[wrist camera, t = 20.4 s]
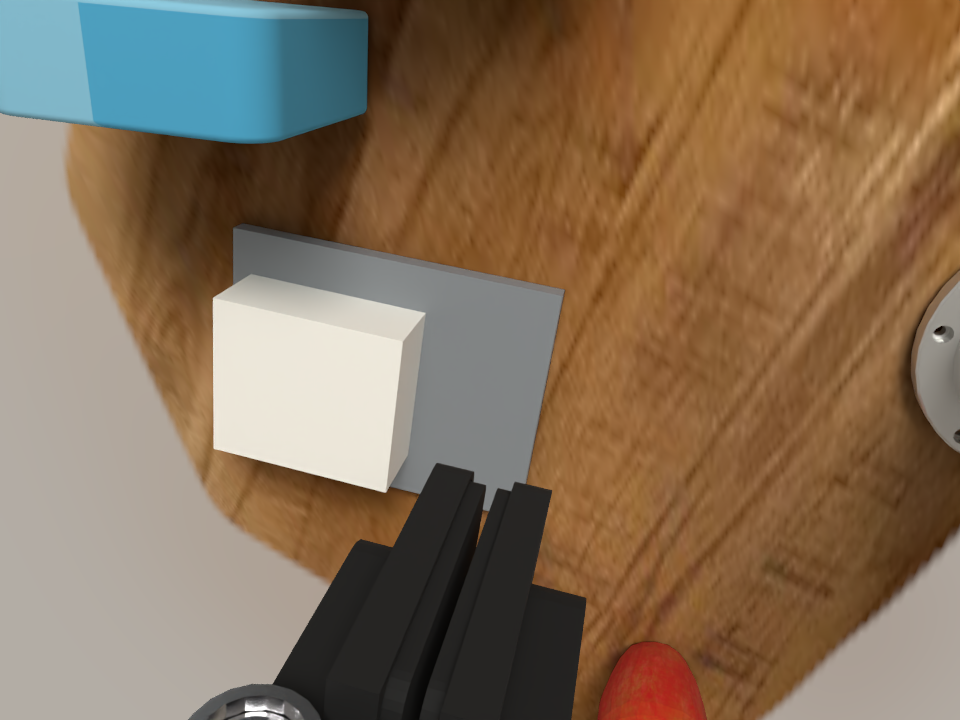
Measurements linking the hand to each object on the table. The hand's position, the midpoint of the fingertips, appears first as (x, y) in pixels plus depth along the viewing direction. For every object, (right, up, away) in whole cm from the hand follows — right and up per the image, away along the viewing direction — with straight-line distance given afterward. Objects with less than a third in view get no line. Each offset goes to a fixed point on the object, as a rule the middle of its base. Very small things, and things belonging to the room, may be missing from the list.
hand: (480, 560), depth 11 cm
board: (-5, +2, +33) cm, 33 cm away
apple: (+11, -16, +38) cm, 42 cm away
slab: (-4, +1, +30) cm, 30 cm away
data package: (-11, +18, +27) cm, 35 cm away
